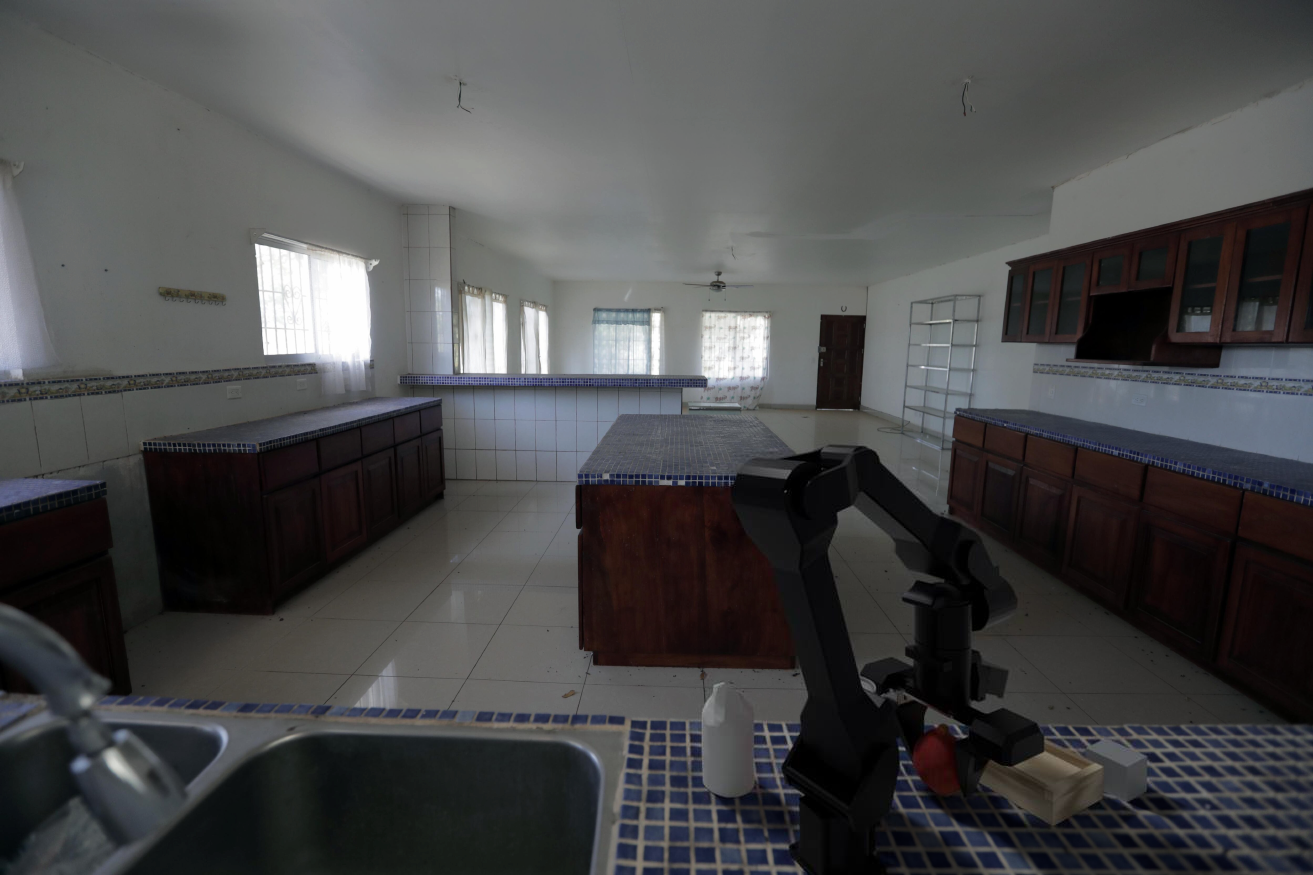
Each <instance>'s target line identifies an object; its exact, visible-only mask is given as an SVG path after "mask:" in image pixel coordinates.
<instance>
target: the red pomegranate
mask: <svg viewBox="0 0 1313 875" xmlns="http://www.w3.org/2000/svg"><path fill="white" fill-rule="evenodd" d="M949 729H950V728H949V726H948V724H946V723H943V722H942V723H941V724H939V725H937V726H936V727H933V728H931V729H929V730H926V731H924V734H923V735H921V736H920V737H919V738H918V740H917V741H916V744H915V746H914V751H913V757H912V760H913V763H912V766H913V768H914V771H915V772H916V774H917V775H918V778H919V779H920V780H921V781H922V782H923V784H924V785H926V786H927V787H928V788H930V789H931V790H933V791H934V792H935V793H936V794H937V795H939V796H940V797H949V796H950V795H952V794H955V793H958V792H961V788H960V784H959V778H958V771H957V764H956V758H955V751H954V744H953V743H954V742H956V741H958V740H959V738H958V737H956V735H954V734H953V733H951V732H950V730H949Z"/></svg>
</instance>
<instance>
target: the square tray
mask: <svg viewBox="0 0 1313 875" xmlns="http://www.w3.org/2000/svg"><path fill="white" fill-rule="evenodd" d="M1103 768H1104V767H1103V766H1101V765H1099V764H1097V763H1094V762H1092V761H1090V760H1088V759H1086V757H1084V756H1082V755H1079V754H1078V753H1075V752H1073V751H1072V750H1070V749H1067V748H1065V747H1063V746H1060V745H1058V744H1056V743H1054V742H1052V741H1050V740H1048V739H1046V738H1044V752H1043V753H1041V754H1039V755H1037V756H1035V757H1032V758H1030V759H1028V760H1026V761H1024V762H1021V763H1019V764H1017V765H1015V766H1013V767H1008V766H1002V765H1000V764H998V763H996V762H994V761H992V760H991V759H990V761H989V762H988V764H987V766H986V768H985V770H984V772H983V774H982V777H981V779H980V781H979V783H978V784H981V785H982V786H985V787H987V789H989V790H991V791H993V792H995V793H997V794H998V795H1000V796H1001V797H1003V798H1005V799H1007V801H1010V802H1011V803H1013V804H1014V805H1017V806H1018V807H1020V808H1021V809H1023V810H1025V811H1026V812H1028V813H1030V814H1031V815H1033V816H1035V817H1037V818H1039V819H1040V820H1042V821H1043V822H1045V823H1047V824H1048V825H1050V826H1051V827H1054V826H1056V825H1057V824H1060V823H1061V822H1063V821H1065V820H1067V819H1069V818H1071V817H1072V816H1074V815H1076V814H1077V813H1079V812H1081V811H1084V810H1085V809H1086V808H1089V807H1091V806H1092V805H1093V804H1095V803H1097V802H1099V801H1101V800H1102V799H1104V791H1103Z"/></svg>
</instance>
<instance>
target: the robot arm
mask: <svg viewBox="0 0 1313 875" xmlns="http://www.w3.org/2000/svg"><path fill="white" fill-rule="evenodd" d="M730 498H731V504H732V506H733V509H734V510H735V513H736V515H737V517H738V519H739V521H740V523H741V525H742V528H743V530H744V532H745V534H746V535H747V536H748V537H749V539H751V541H752V542H753V543H754V545H755V546H756V547H757V548H758V549H759V550H760V552H761V553H762V554H763V555H764V556H765V557H766V559H767V560H768V561H769V564H770V566H771V569H772V572H773V576H774V578H775V582H776V587H777V590H778V594H779V597H780V599H781V604H782V607H783V610H784V614H785V617H786V621H787V626H788V629H789V632H790V635H791V639H792V642H793V645H794V649H795V654H796V657H797V660H798V664H799V667H800V670H801V674H802V677H803V681H804V684H805V688H806V692H807V698H806V700H805V702H804V705H803V707H802V709H801V712H800V714H799V722H800V729H801V730H800V732H799V734H798V735H797V737H796V739H795V741H794V742H793V745H792V746H791V748H790V750H789V752H788V754H787V756H786V757H785V759H784V761H783V763H782V765H781V768H780V769H781V773H782V776H783V779H784V781H785V784H786V785H788V786H789V787H793V789H795V790H796V791H798V792H799V793H800V794H802V795H803V796H801V797H799V798H798V820H799V821H798V822H799V823H798V826H799V827H798V830H799V839H798V840H797V841H795V842H793V843H790V844H789V846H788V853H789V854H790V855H791V856H792V857H793V858H794V859H795V860H796V861H797V862H798V863H799V865H800V866H802V868H803V869H805V871H806V872H807V873H808V874H809V875H886V874H887V869H888V868H887V867H888V866H887V864H886V863H884V862H883V861H882V860H881V859H879V858H878V857H877V856H876V855H875V854H874V852H876V846H877V844H876V841H877V840H876V824H877V822H880V821H881V820H883V819H884V818H885V817H887V816H889V815H891V814H890V813H891V810H892V807H893V800H894V797H895V792H896V786H897V783H898V782H897V781H898V778H899V771H900V766H901V758H900V757H901V756H900V749H899V748H900V747H899V744H898V740H897V739H900V740H901V743H902V746H903V747H904V749H905V751H906V752H907V755H908V757H909V759H910V761H911V763H912V764H913V760H912V757H913V751H914V746H915V744H916V741H917V740H918V738H919V737H920V736H921V735H923V734H924V733H925V716H926V712H927V711H928V709H929V708H930V709H931V710H933V711H935V712H937V713H938V714H940V715H943V716H945V717H946V718H948V719H951V720H955V721H956V722H958V723H960V724H963V725H964V726H966V727H967V734H966V737H963V738H961V739H958V741H956V742H954V743H953V744H954V751H955V758H956V764H957V771H958V778H959V784H960V788H961V790H960V792H961V795H962V797H963V798H964V799H969V798H971V797H973V795H974V793H975V792H976V789H977V787H978V785H979V784H980V783H979V781H980V779H981V777H982V774H983V772H984V770H985V768H986V766H987V764H988V762H989V761H990V759H991V760H992V761H994V762H996V763H998V764H1000V765H1002V766H1008V767H1013V766H1015V765H1017V764H1019V763H1021V762H1024V761H1026V760H1028V759H1030V758H1032V757H1035V756H1037V755H1039V754H1041V753H1043V752H1044V739H1046V738H1045V733H1044V731H1043V728H1041V726H1040V725H1039V724H1038V723H1037V721H1034V720H1032V719H1029V718H1027V717H1025V716H1023V715H1021V714H1019V713H1016V712H1014V711H1012V710H1009V709H1008V708H1005V707H1001V708H998V709H996V710H993V711H990V712H989V713H985V712H983V711H980V710H979V709H977V708H974V707H972V702H977V703H981V702H984V701H986V699H987V695H991V696H994V697H995V696H996V697H997V698H998V699H1000V700H1001V699H1004V697H1005V696H1004V695H1005V691H1006V687H1007V682H1008V678H1009V674H1010V670H1009V669H1007V668H1005V667H1002V666H999V665H997V664H994V663H992V662H989V661H987V660H984V659H982V658H983V656H982V654H981V651H979V650H976V649H973V640H972V638H973V635H972V634H973V632H978V631H982V630H984V629H986V628H989V627H991V626H994V625H997V624H999V623H1002V622H1004V621H1006V620H1008V619H1010V618H1011V617H1012V616H1014V614H1015V612H1016V611H1017V609H1018V603H1019V602H1018V596H1016V592H1015V589H1014V588H1013V587H1012V585H1011V584H1010V582H1009V581H1007V579H1005V578H1004V577H1003V576H1001V575H1000V565H998V564H993V562H992V560H991V557H990V555H989V553H988V550H987V548H986V546H985V545H984V542H983V538H982V537H981V536H980V534H979V532H977V531H976V530H975V529H973V528H971V527H969V526H967V525H965V524H964V523H962V522H959V521H957V520H954V519H952V518H948V517H945V516H943V515H940V514H938V513H937V512H934V511H933V510H932V509H931V507H930V508H929V506H927V504H926V503H925V502H923V501H922V499H920V497H918V495H916V494H915V493H914V492H913V491H912V490H911V489H910V488H909V487H908V486H906V484H904V483H903V482H902V481H901V480H900V479H899V477H897V476H896V475H895V474H894V473H893V472H892V471H891V470H890V469H889V468H888V467H887V466H885V465H884V464H883V463H882V462H881V459H880V455H878V453H877V451H875V450H874V449H871V448H870V447H868V446H866V445H853V444H852V445H851V444H831V443H830V444H827V445H826V446H822V447H819V448H817V449H814V450H811V451H807V452H802V453H797V454H792V455H786V456H782V457H776V458H766V457H754V458H751V459H749V460H747V461H746V462H745V463H744V464H742V465H741V467H740V468H739V469H738V472H736V475H735V478H734V481H733V482H732V483H731V484H730ZM852 506H853V507H854V508H856V510H858V511H859V512H860V513H862V514H863V515H864V516H865V517H866V518H867V519H869V520H870V521H871V522H872V523H873V524H875V526H877V527H878V528H879V529H880V530H882V531H883V532H884V533H885V534H887V535H888V536H889V537H890V538H891V539H892V541H893V542H894V547H893V548H894V553H895V555H896V556H897V557H898V559H899V560H900V561H901V562H902V563H903V565H904V567H906V569H907V570H908V571H910V572H912V573H914V574H919V575H923V576H928V577H931V578H935V579H939V580H943V581H944V582H942V581H935V582H926V581H923V580H919V579H916V580H915V581H914V583H913V585H912V586H911V587H910V588H908V589H907V590H906V591H905V592H904V593H903V595H902V597H901V601H902V602H903V603H906V604H909V605H912V611H913V612H912V613H913V614H912V615H913V616H912V619H913V620H912V623H913V624H912V629H913V630H912V633H913V635H912V636H913V638H912V641H913V642H912V644H911V645H907V646H904V656H905V657H907V658H909V659H911V660H912V661H913V665H911V664H910V663H907V662H904V661H902V660H900V659H898V658H896V657H893V656H890V657H885V658H882V659H879V660H874V661H871V662H867V663H865V664H864V665H863V667H862V668H861V670H860V672H859V669H858V666H857V662H856V658H855V654H854V650H853V646H852V643H851V638H850V635H849V632H848V627H847V623H846V619H845V616H844V611H843V607H842V605H841V604H842V603H841V599H840V597H839V592H838V589H837V584H836V581H835V577H834V572H833V569H832V565H831V561H830V557H829V552H828V551H829V548H830V545H831V543H832V540H833V538H834V536H835V532H836V529H837V528H838V526H839V525H838V524H839V519H838V513H839V512H842V511H843V510H846V509H848V508H850V507H852ZM859 676H861V677H864V678H867V679H869V680H871V681H872V682H873V683H874V684H875V686H876V693H877V694H875V693H873V692H871V691H869V690H866V689H864V688H863V687H862V684H861V681H860V677H859Z"/></svg>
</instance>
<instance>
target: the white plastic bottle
mask: <svg viewBox="0 0 1313 875" xmlns="http://www.w3.org/2000/svg"><path fill="white" fill-rule="evenodd" d="M712 690H713V692H711V696H709V698H708V699H707V700H706V702H704V703H705V704H704V707H703V709H702V711H701V764H702V766H701V767H702V784H703V785H704V787H705V788H706V789H707V790H709V791H710V792H711V793H714V795H718V796H720V797H724V798H739V797H743V796H746V795H747V794H749V793H751V791H753V789H754V788H755V712H754V711H755V710H754V707H753V705H752V703H750V702H749V701H748V699H746V698H745V696H744V695H743V694H742V693H741V692H740V691H738V690H736V688H735V687H731V686H729V685H727V683H725V682H720V683H716V684H714V685H713V688H712Z"/></svg>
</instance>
